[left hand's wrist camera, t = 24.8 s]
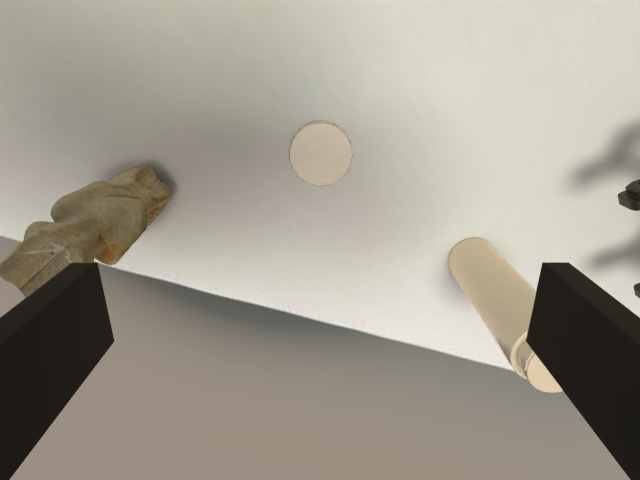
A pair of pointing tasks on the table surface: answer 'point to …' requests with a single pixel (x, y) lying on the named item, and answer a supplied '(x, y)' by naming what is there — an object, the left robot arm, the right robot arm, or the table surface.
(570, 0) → the table surface
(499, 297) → the beige bottle
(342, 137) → the lid
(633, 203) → the right robot arm
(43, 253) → the sculpture
